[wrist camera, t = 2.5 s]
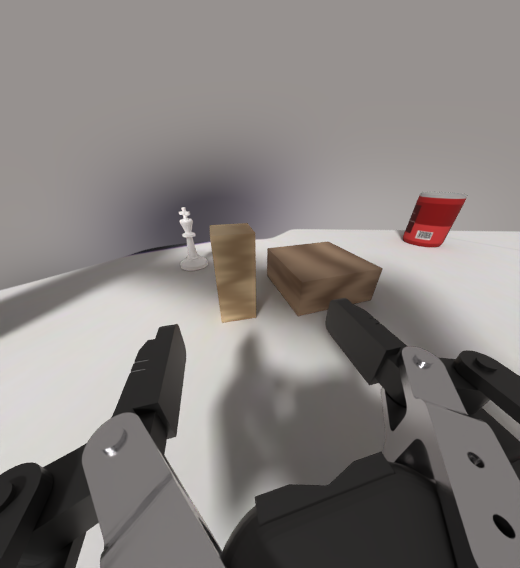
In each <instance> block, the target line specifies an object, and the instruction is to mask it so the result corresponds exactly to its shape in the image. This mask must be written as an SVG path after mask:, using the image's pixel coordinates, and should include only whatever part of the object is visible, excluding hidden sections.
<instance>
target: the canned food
mask: <svg viewBox="0 0 520 568" xmlns="http://www.w3.org/2000/svg"><path fill="white" fill-rule="evenodd" d="M466 198H467V195H466V194H459V193H443V192H442V193H441V192H422V193H421V194H420V196H419V198H418V200H417V203H416V205H415V208H414V210H413V213H412V215H411V218H410V221H409V223H408V225H407V228H406V231H405V233H404V236H403V240H404V241H405V242H407V243H409V244H413V245H417V246H423V247H438V246H440V245H441V244H442V243H443V242H444V240H445V238H446V236H447V234H448V232H449V231H450V229H451V227H452V225H453V223H454V221H455V219H456V217H457V215H458V213H459V212H460V210H461V208H462V206H463V204H464V202H465V200H466Z"/></svg>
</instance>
